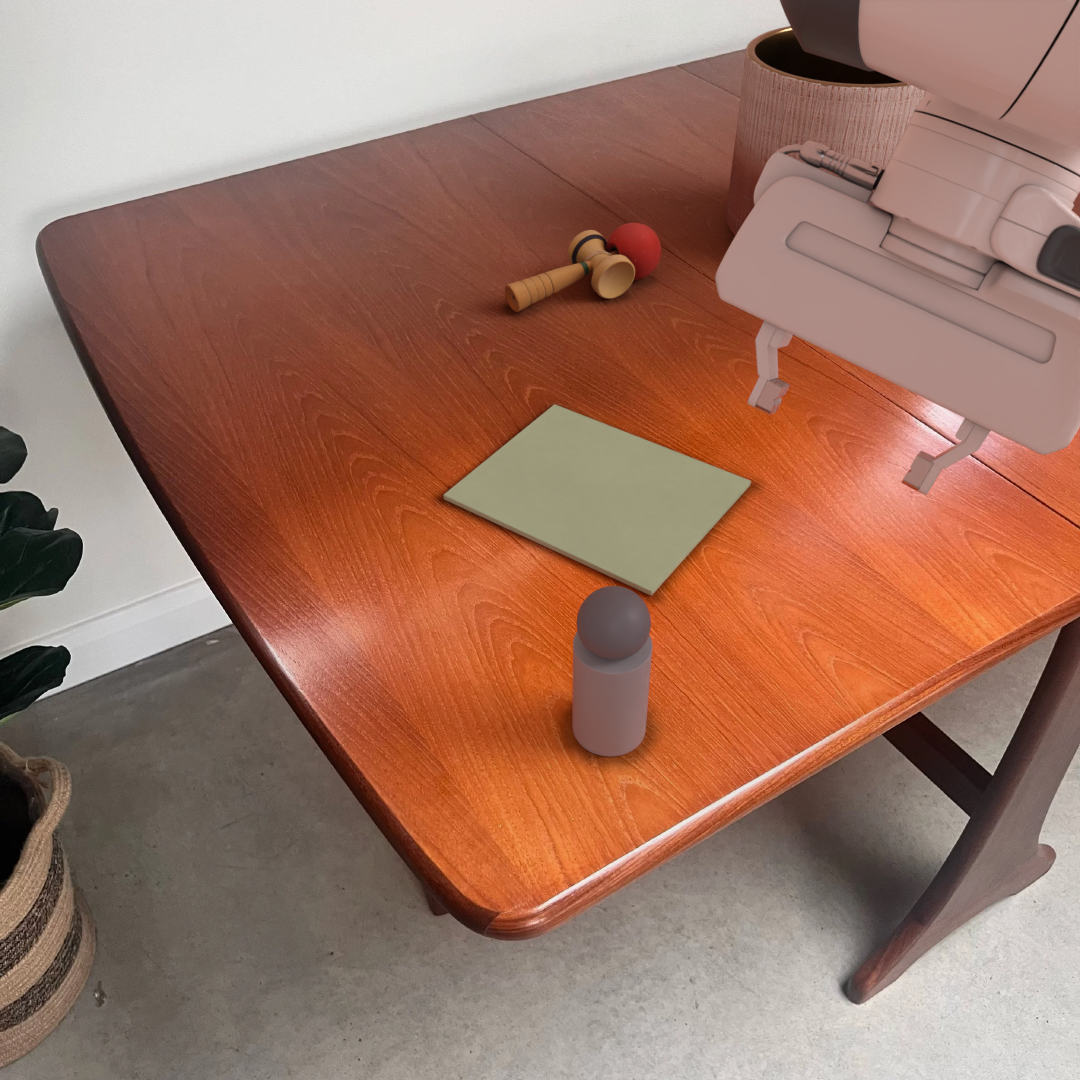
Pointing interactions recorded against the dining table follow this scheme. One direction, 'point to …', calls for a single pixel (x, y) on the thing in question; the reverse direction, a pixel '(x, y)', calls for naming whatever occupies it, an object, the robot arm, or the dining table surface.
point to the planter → (810, 112)
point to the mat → (600, 496)
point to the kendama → (595, 265)
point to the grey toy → (611, 671)
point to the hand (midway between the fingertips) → (836, 447)
